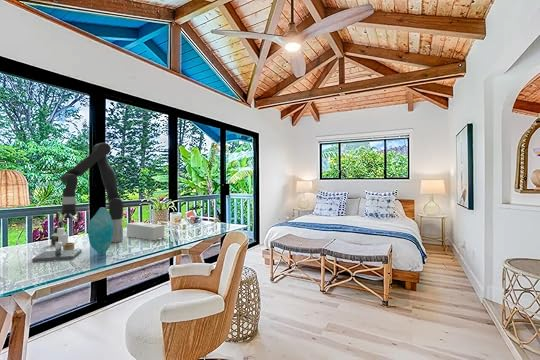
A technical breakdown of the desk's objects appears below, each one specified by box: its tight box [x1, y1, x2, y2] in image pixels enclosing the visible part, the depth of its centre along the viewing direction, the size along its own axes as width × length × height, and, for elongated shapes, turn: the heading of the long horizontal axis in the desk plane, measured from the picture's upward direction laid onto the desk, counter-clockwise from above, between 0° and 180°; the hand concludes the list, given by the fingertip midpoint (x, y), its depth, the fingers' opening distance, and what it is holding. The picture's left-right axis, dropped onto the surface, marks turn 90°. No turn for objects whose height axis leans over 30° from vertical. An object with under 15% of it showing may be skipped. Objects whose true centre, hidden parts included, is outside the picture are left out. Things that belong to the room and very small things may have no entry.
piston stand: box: [31, 242, 82, 263], centre depth 172 cm, size 20×16×9 cm
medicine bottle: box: [50, 226, 69, 246], centre depth 203 cm, size 7×7×12 cm
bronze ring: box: [62, 242, 75, 250], centre depth 189 cm, size 6×6×4 cm
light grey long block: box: [126, 221, 165, 241], centre depth 229 cm, size 32×11×11 cm, turn 62°
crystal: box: [87, 207, 114, 256], centre depth 179 cm, size 12×14×30 cm
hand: (68, 227), depth 189 cm, fingers open, 8 cm apart
